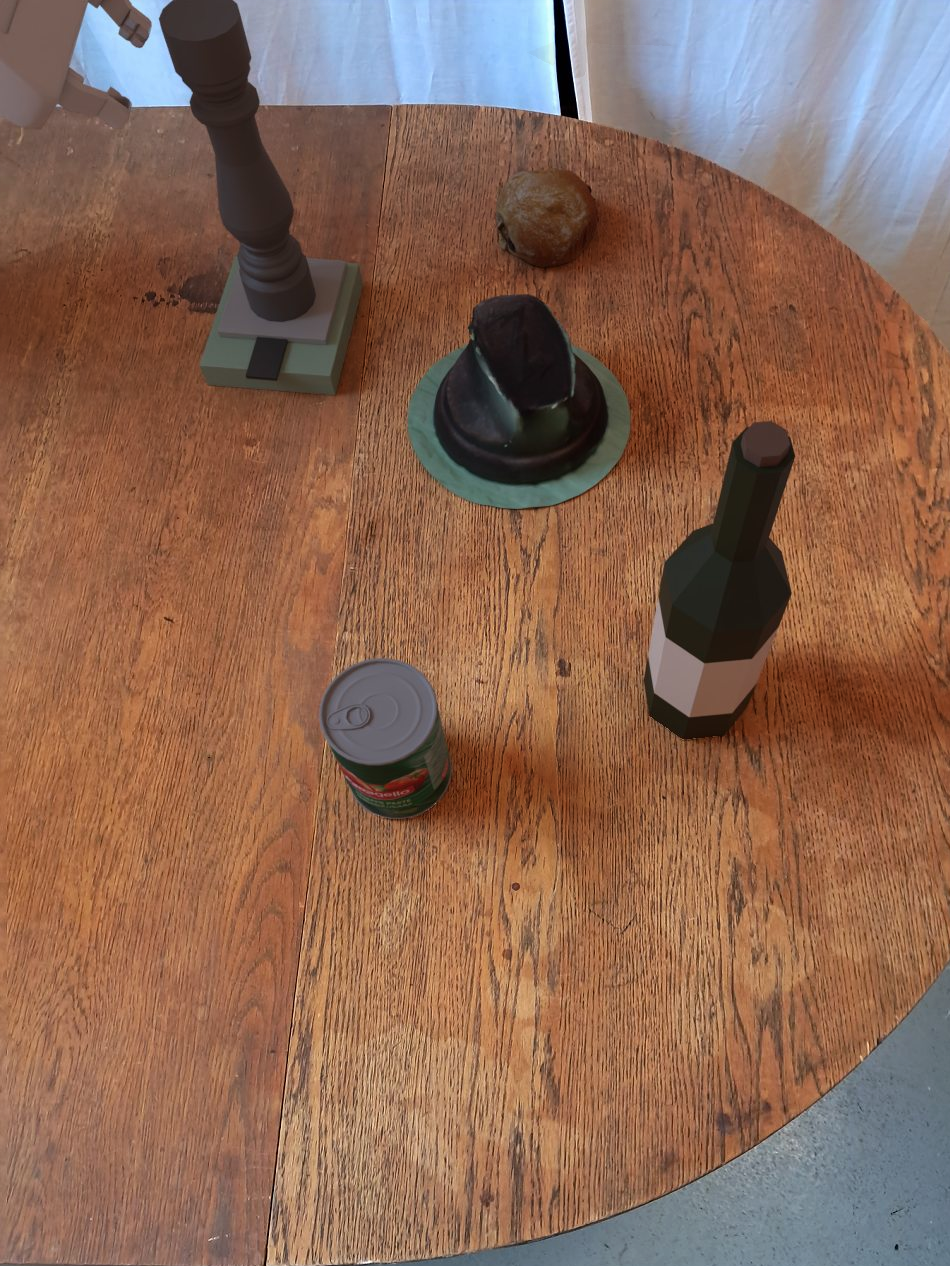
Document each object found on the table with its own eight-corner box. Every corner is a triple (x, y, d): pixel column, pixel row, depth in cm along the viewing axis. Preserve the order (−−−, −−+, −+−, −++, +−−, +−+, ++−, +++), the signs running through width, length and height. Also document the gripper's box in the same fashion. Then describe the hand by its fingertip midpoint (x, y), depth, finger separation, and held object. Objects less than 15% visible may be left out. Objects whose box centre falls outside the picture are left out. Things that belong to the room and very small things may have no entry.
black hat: (683, 444, 91) (490, 553, 87) (578, 396, 105) (407, 488, 101) (643, 273, 82) (425, 387, 78) (534, 246, 96) (344, 341, 92)
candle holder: (237, 314, 95) (139, 34, 72) (264, 267, 98) (178, -18, 75) (300, 328, 94) (221, 50, 72) (326, 280, 97) (257, -3, 74)
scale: (204, 394, 95) (193, 369, 92) (242, 275, 102) (233, 248, 99) (333, 404, 95) (326, 379, 92) (363, 284, 101) (357, 257, 98)
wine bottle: (711, 631, 84) (788, 357, 57) (768, 713, 81) (878, 463, 54) (622, 675, 83) (657, 414, 55) (677, 760, 79) (743, 527, 52)
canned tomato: (439, 714, 81) (423, 645, 71) (462, 805, 78) (449, 747, 68) (339, 738, 80) (309, 672, 70) (358, 832, 77) (330, 776, 67)
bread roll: (491, 250, 108) (461, 205, 100) (558, 171, 106) (532, 119, 99) (556, 303, 104) (528, 260, 97) (625, 221, 103) (603, 171, 96)
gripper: (-43, -120, 75) (139, 21, 84) (-118, 60, 66) (95, 195, 75) (-10, -195, 71) (178, -39, 80) (-85, -15, 62) (135, 138, 71)
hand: (137, 76), depth 78 cm, fingers open, 8 cm apart
